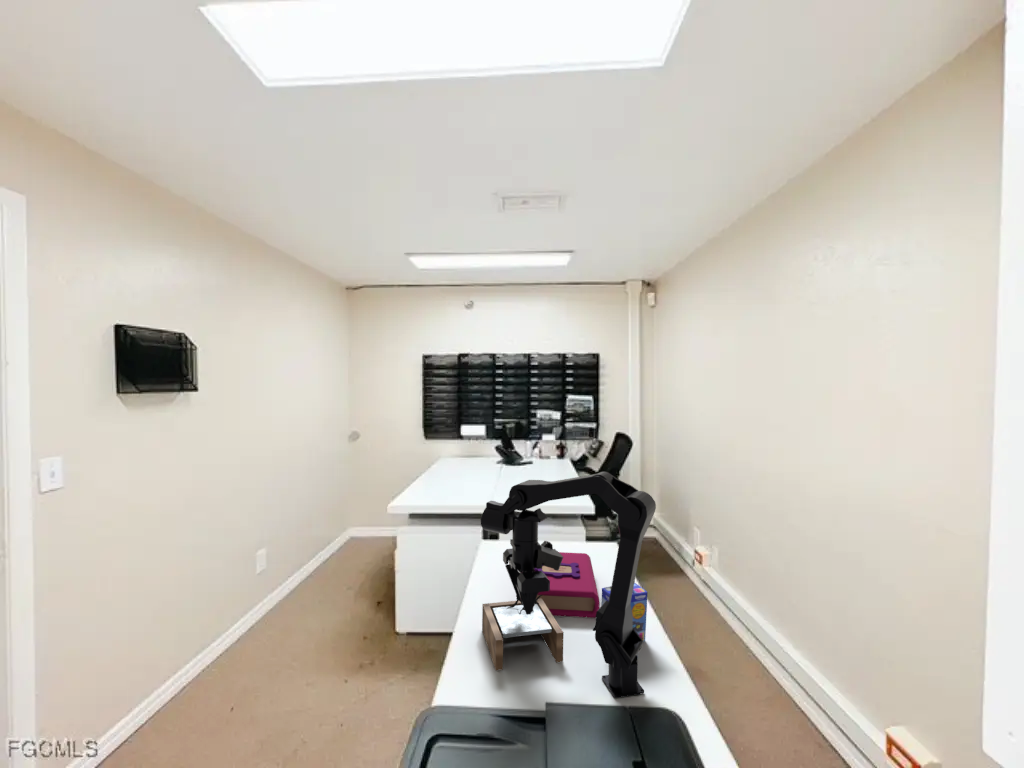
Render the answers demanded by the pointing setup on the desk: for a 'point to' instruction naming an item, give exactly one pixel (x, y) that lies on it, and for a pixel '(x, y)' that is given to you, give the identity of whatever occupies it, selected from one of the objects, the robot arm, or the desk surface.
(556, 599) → the book
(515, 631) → the trapdoor
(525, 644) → the desk surface
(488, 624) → the wooden stand
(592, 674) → the desk surface
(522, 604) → the creature
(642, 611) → the ink cartridge box
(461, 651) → the desk surface
